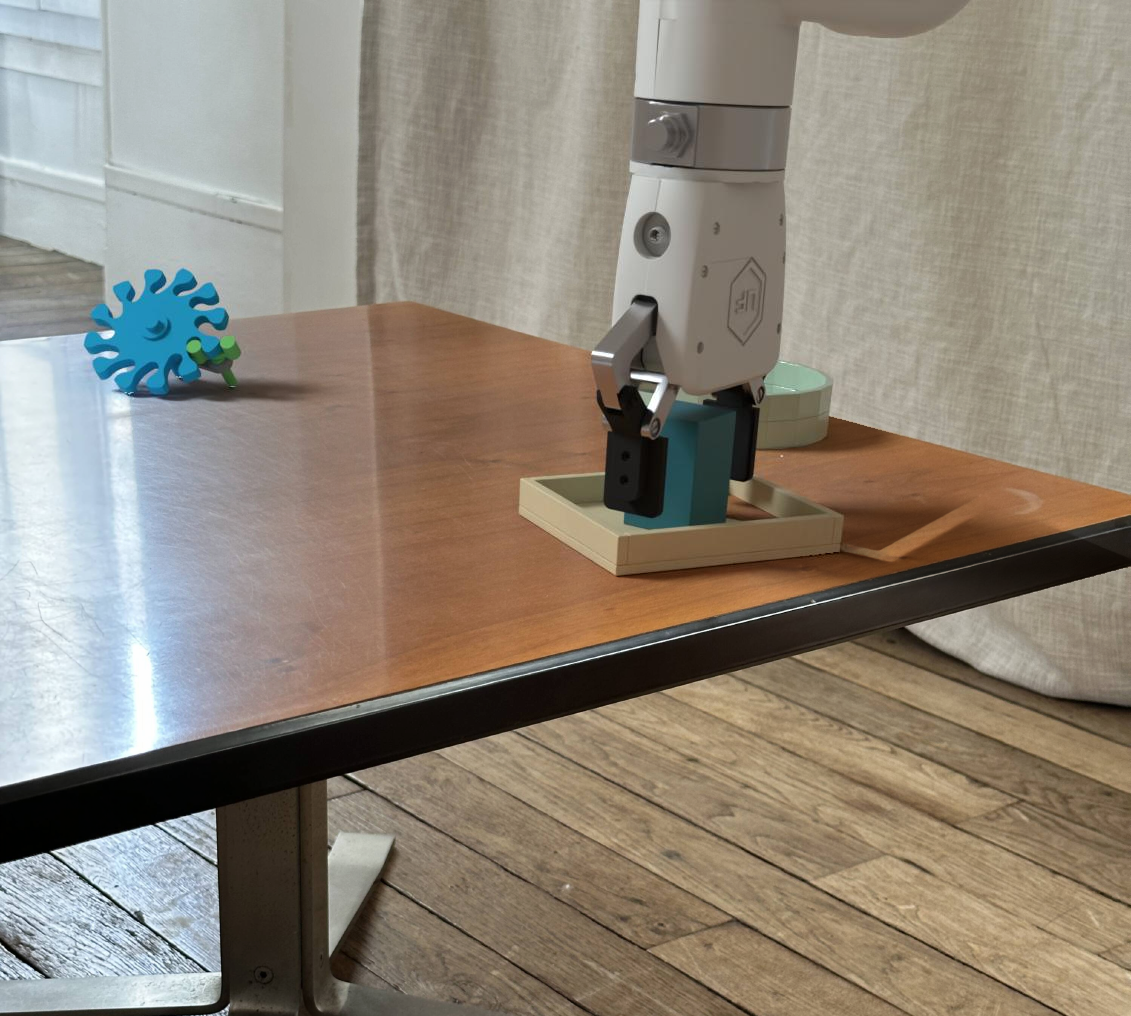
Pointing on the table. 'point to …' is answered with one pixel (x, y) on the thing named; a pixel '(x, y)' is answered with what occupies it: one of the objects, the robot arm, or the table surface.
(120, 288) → the gear
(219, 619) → the table surface
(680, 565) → the tray
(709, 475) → the block
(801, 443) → the bowl
